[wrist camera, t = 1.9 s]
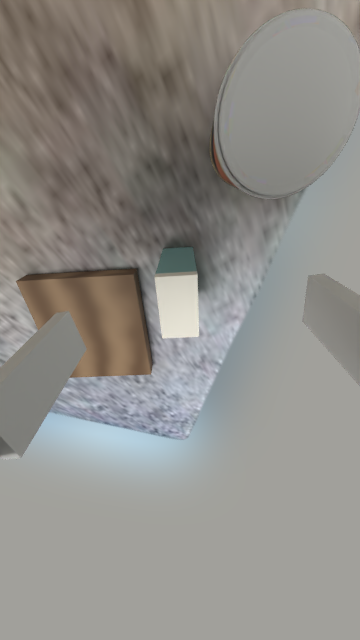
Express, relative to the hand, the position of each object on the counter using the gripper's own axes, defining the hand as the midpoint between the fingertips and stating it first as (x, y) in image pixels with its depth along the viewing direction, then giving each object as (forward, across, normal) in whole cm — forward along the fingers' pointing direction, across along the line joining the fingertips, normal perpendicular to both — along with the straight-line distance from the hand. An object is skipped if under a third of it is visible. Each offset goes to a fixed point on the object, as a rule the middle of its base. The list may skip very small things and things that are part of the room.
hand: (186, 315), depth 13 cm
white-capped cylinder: (+20, +8, +9) cm, 23 cm away
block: (+20, -1, -4) cm, 20 cm away
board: (+20, -16, -11) cm, 28 cm away
